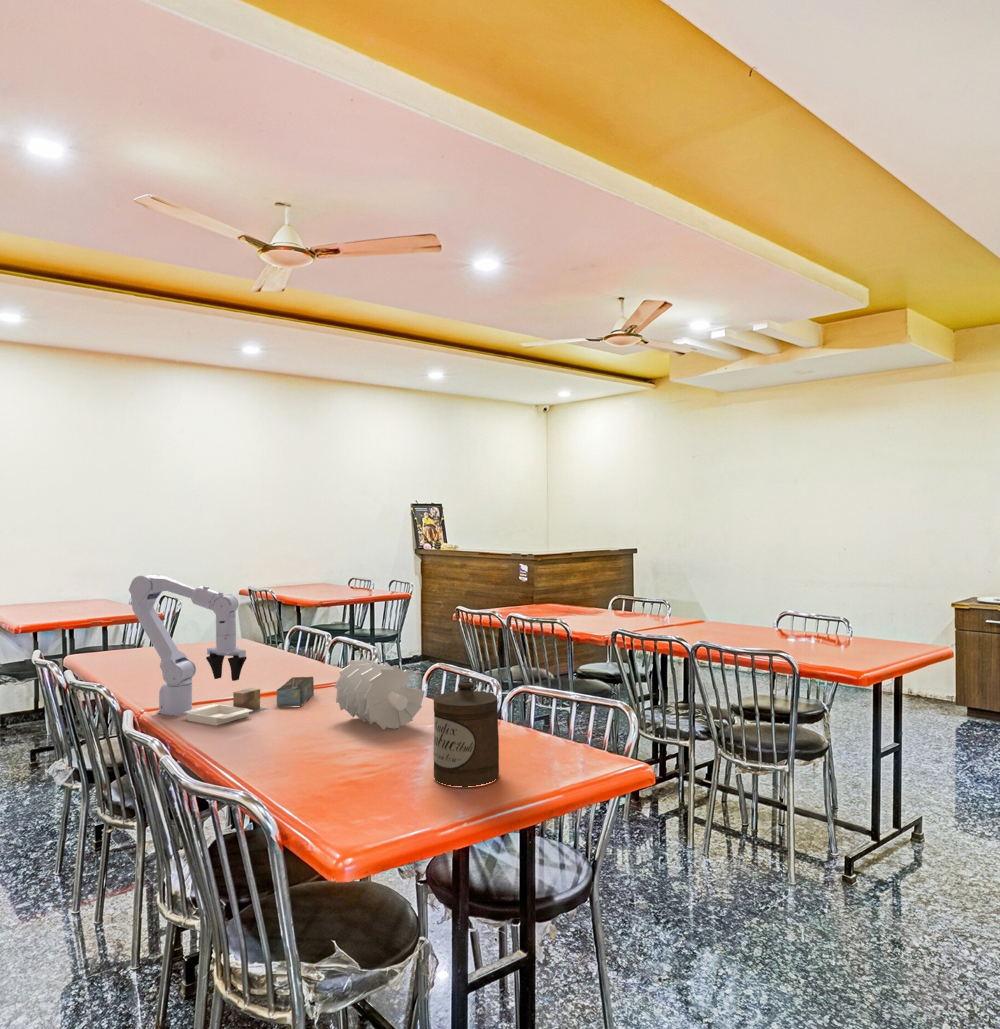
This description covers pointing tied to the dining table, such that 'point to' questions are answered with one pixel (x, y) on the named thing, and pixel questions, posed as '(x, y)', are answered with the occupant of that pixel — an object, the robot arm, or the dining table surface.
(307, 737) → the dining table surface
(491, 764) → the wooden container
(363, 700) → the spiral staircase
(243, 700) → the walnut block
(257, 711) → the mat
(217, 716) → the white tray
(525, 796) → the dining table surface
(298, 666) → the dining table surface
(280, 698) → the beverage carton
